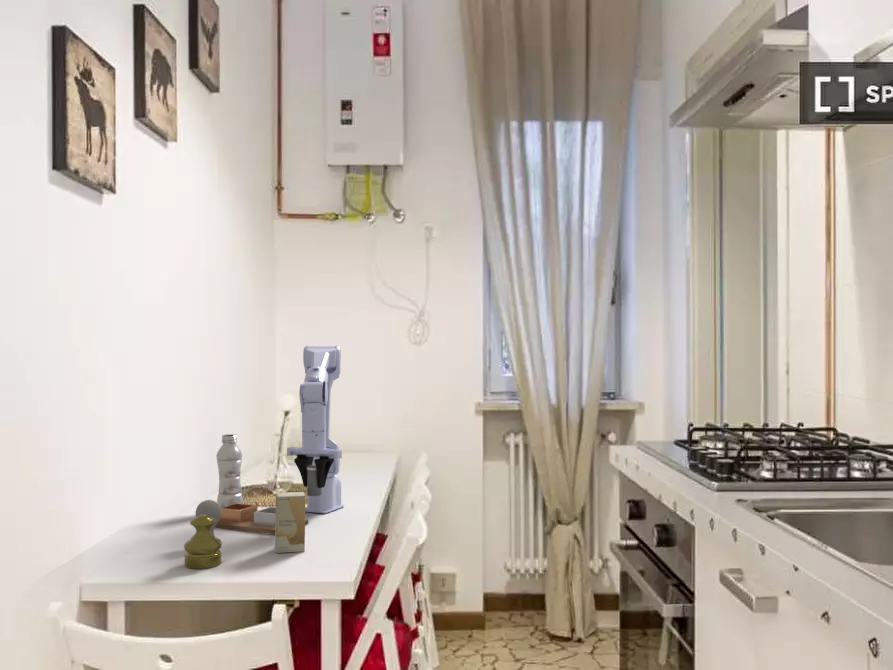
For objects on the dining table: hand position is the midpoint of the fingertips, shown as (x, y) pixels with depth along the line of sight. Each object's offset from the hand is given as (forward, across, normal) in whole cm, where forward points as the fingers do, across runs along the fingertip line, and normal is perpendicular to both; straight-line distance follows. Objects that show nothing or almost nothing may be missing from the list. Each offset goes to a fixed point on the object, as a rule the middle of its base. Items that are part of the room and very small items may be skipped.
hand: (314, 486), depth 201 cm
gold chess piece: (+10, -2, -37) cm, 38 cm away
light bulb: (+10, -11, -25) cm, 29 cm away
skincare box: (+10, +8, -21) cm, 25 cm away
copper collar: (+9, -18, -6) cm, 21 cm away
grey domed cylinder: (+2, 0, 0) cm, 2 cm away
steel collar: (+8, -8, -6) cm, 13 cm away
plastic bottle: (+10, -29, +4) cm, 31 cm away
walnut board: (+9, -13, -6) cm, 17 cm away
